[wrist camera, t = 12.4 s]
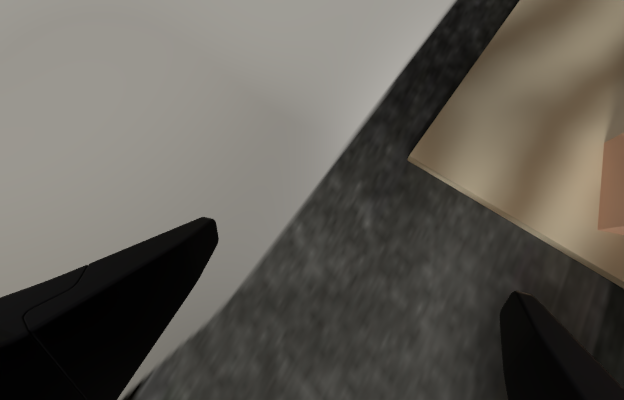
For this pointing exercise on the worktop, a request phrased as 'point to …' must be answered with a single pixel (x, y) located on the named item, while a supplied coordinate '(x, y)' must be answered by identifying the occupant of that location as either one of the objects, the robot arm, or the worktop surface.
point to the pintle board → (540, 126)
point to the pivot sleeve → (612, 187)
